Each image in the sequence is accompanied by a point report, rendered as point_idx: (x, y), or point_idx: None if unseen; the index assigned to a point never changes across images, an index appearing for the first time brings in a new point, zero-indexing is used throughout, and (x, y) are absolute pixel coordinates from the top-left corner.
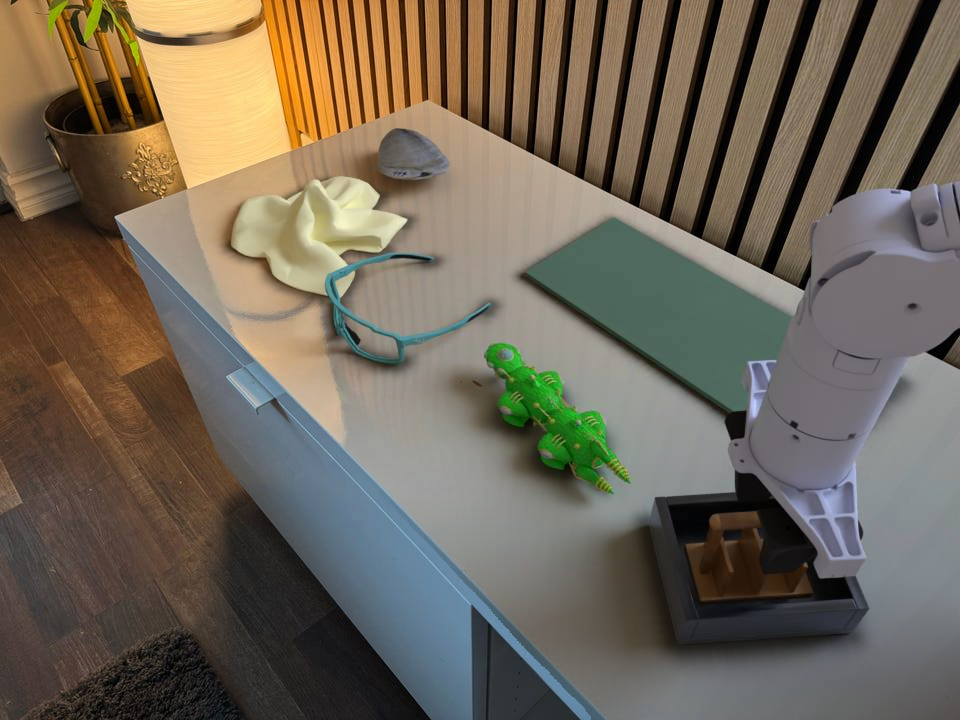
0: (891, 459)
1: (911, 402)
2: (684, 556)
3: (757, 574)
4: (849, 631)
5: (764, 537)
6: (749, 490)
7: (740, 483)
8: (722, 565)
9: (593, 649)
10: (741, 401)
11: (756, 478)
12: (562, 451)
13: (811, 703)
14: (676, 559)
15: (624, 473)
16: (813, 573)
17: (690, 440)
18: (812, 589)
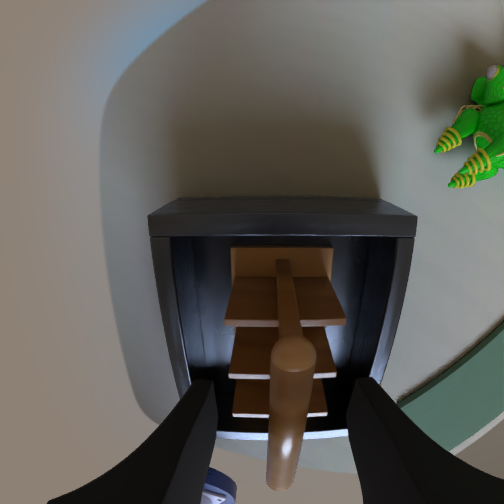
0: None
1: None
2: (314, 241)
3: (247, 345)
4: None
5: (165, 471)
6: (362, 415)
7: (376, 420)
8: (254, 306)
9: (177, 78)
10: (489, 355)
11: (372, 448)
12: (498, 93)
13: (124, 331)
14: (275, 224)
15: (463, 180)
16: None
17: (476, 290)
18: None
